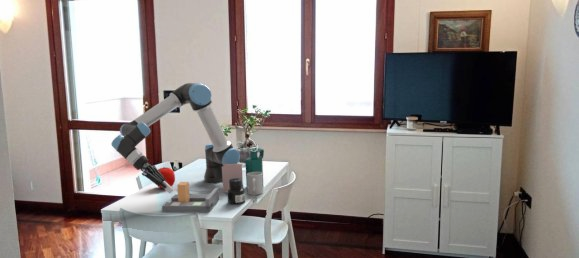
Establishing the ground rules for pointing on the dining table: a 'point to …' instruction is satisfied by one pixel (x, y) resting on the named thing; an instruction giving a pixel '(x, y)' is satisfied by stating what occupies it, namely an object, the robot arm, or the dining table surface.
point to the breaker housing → (193, 203)
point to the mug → (254, 183)
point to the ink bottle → (236, 191)
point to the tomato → (167, 176)
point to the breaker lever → (183, 192)
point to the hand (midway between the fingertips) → (171, 191)
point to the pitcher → (254, 162)
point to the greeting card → (231, 174)
